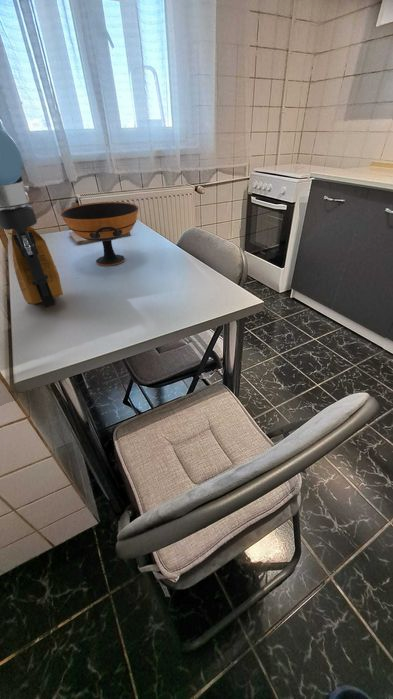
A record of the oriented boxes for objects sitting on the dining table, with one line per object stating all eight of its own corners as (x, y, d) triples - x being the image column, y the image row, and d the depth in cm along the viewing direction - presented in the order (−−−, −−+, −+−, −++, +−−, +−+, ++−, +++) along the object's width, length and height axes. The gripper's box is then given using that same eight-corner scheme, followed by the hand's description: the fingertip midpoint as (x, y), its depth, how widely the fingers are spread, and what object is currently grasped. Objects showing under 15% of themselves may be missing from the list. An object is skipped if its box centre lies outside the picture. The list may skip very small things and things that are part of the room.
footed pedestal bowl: (74, 250, 120) (61, 203, 109) (136, 242, 126) (130, 197, 116) (75, 285, 93) (58, 227, 82) (154, 273, 99) (148, 217, 88)
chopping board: (77, 244, 126) (76, 241, 125) (69, 235, 137) (68, 232, 136) (130, 235, 135) (130, 231, 134) (119, 227, 146) (118, 224, 145)
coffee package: (61, 294, 89) (35, 215, 81) (67, 296, 78) (38, 207, 71) (25, 302, 84) (-6, 220, 77) (27, 306, 74) (-10, 212, 66)
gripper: (34, 208, 59) (69, 311, 73) (28, 199, 68) (60, 292, 82) (-8, 214, 56) (37, 320, 70) (-9, 203, 65) (31, 299, 79)
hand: (49, 305), depth 76 cm, fingers closed
